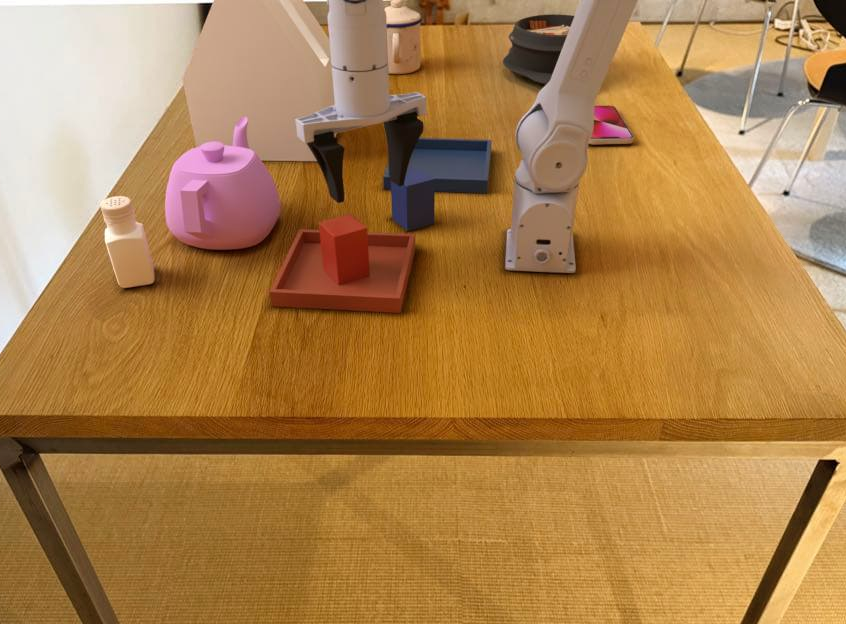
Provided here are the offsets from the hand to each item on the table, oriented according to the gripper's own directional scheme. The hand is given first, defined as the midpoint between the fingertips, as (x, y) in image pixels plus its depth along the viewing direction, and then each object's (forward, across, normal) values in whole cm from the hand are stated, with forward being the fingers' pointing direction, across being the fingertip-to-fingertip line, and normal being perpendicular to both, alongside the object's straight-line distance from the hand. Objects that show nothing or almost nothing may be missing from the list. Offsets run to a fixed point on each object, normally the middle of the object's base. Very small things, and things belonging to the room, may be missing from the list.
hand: (367, 190), depth 85 cm
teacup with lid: (+8, -38, -60) cm, 71 cm away
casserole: (+9, -61, -42) cm, 75 cm away
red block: (+8, +4, +2) cm, 9 cm away
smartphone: (+8, -50, -16) cm, 53 cm away
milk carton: (+8, -4, -40) cm, 41 cm away
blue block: (+8, -9, -5) cm, 13 cm away
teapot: (+8, +12, -16) cm, 22 cm away
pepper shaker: (+8, +25, -10) cm, 28 cm away
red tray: (+8, +4, +2) cm, 10 cm away
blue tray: (+8, -20, -16) cm, 27 cm away
